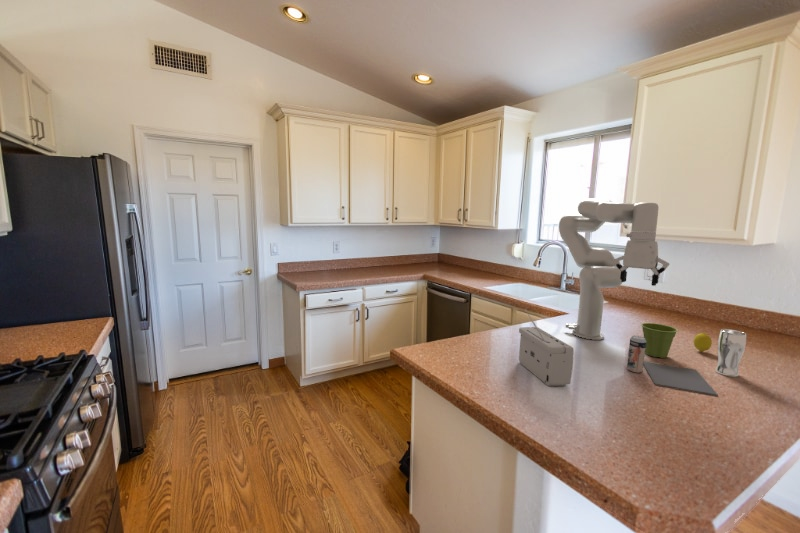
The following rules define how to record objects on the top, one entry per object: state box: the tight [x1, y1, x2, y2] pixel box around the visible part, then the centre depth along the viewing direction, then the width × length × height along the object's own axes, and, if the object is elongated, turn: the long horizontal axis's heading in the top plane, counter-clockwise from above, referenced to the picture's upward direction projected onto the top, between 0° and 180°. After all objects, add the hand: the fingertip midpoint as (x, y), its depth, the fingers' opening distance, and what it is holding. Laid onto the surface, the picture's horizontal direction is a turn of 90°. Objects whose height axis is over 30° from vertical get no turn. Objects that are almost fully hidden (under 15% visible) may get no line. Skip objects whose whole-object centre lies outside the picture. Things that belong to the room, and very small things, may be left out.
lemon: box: [693, 332, 712, 353], centre depth 146 cm, size 6×6×8 cm
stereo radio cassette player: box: [518, 309, 575, 387], centre depth 120 cm, size 21×8×20 cm, turn 9°
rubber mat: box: [643, 361, 719, 397], centre depth 121 cm, size 16×20×1 cm
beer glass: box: [714, 328, 747, 378], centre depth 125 cm, size 7×7×15 cm
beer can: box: [626, 335, 646, 374], centre depth 125 cm, size 5×5×12 cm
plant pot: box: [640, 322, 679, 359], centre depth 141 cm, size 12×12×11 cm
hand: (638, 283), depth 134 cm, fingers open, 9 cm apart
